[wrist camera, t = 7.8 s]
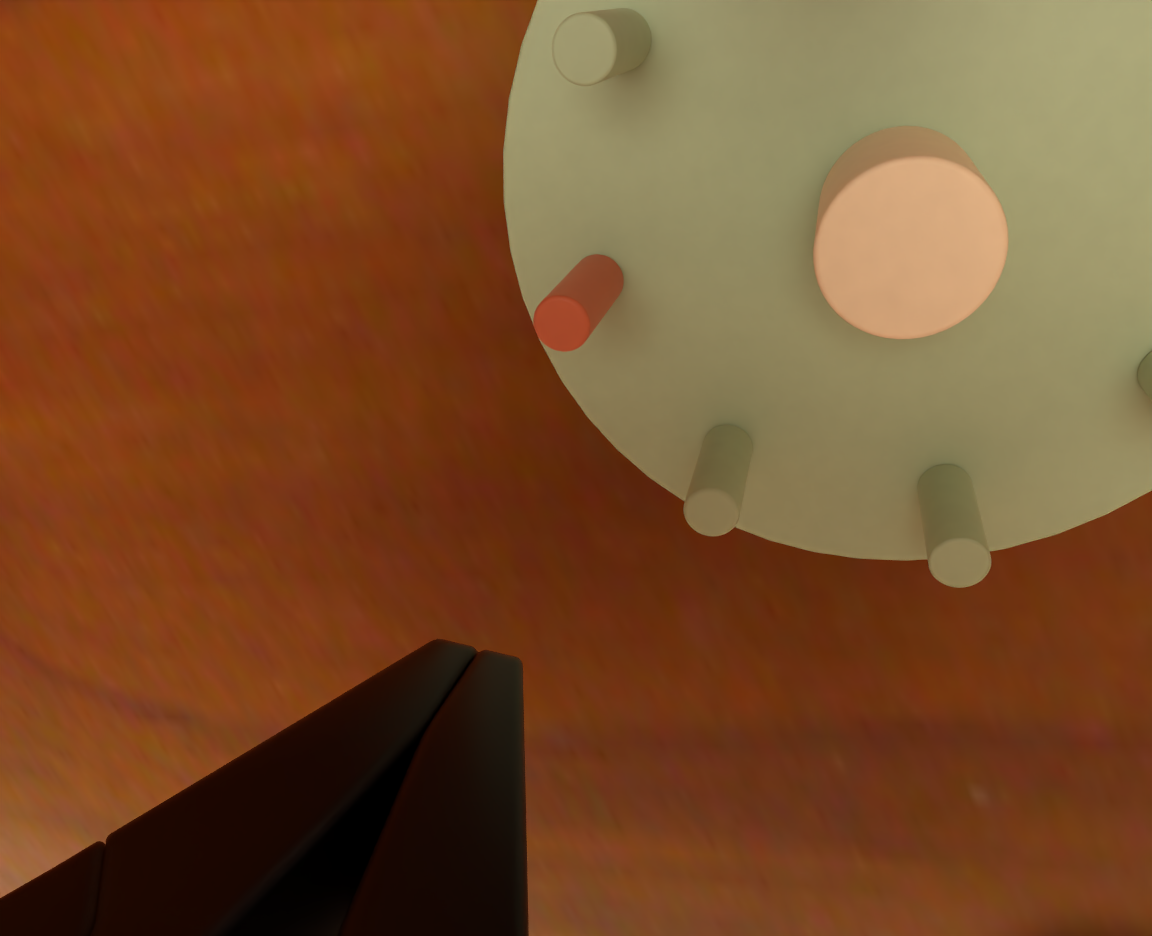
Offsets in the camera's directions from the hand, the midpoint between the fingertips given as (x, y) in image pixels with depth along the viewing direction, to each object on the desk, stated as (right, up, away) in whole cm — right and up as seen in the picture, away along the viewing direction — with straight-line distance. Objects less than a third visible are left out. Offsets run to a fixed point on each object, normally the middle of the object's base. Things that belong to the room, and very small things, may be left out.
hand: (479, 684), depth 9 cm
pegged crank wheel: (+6, +7, +7) cm, 11 cm away
